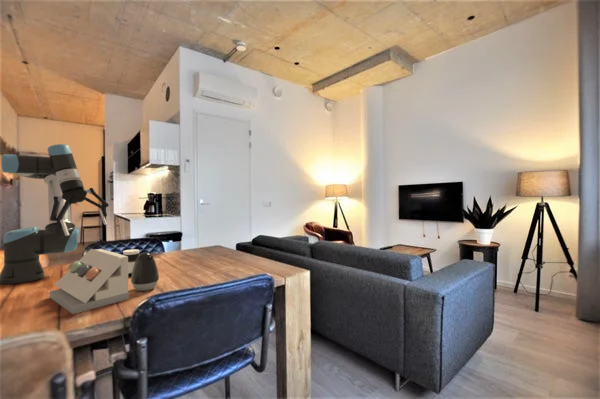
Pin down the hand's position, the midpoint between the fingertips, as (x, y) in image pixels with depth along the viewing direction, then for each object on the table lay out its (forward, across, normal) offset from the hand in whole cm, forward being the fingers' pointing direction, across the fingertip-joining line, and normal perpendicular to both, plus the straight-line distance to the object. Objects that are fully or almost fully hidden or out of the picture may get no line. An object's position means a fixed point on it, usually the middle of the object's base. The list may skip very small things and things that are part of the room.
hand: (87, 229), depth 122 cm
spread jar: (+25, +5, +20) cm, 32 cm away
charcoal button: (+18, -3, -13) cm, 22 cm away
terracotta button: (+20, 0, -21) cm, 29 cm away
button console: (+26, -4, -11) cm, 29 cm away
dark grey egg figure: (+31, +14, -8) cm, 35 cm away
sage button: (+15, -7, -6) cm, 18 cm away
